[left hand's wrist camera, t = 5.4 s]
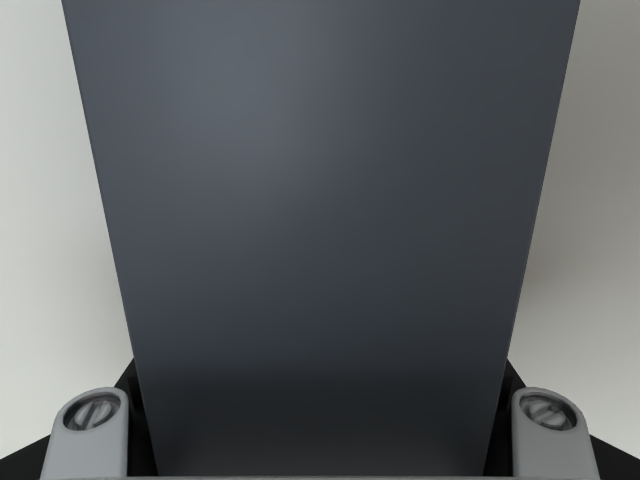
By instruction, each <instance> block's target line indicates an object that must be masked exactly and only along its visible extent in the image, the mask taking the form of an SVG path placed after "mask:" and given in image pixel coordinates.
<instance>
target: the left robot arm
mask: <svg viewBox="0 0 640 480" xmlns="http://www.w3.org/2000/svg"><path fill="white" fill-rule="evenodd" d="M0 480H640V459H638V458H636V457H634V456H632V455H630V454H628V453H626V452H624V451H622V450H620V449H618V448H616V447H614V446H612V445H610V444H608V443H606V442H604V441H602V440H600V439H598V438H596V437H594V436H592V435H590V434H589V432H588V428H587V424H586V420H585V418H584V416H583V414H582V412H581V411H580V410H579V408H578V407H577V406H576V405H575V404H574V403H572V402H571V401H570V400H568V399H567V398H565V397H563V396H561V395H560V394H558V393H556V392H553V391H550V390H547V389H543V388H537V387H526V386H525V384H524V383H523V381H522V380H521V378H520V377H519V375H518V374H517V372H516V371H515V369H514V368H513V366H512V365H511V363H510V362H509V361H508V359H507V361H506V366H505V370H504V375H503V380H502V385H501V390H500V395H499V400H498V405H497V410H496V414H495V419H494V424H493V429H492V434H491V439H490V444H489V449H488V453H487V458H486V463H485V468H484V473H483V477H471V476H169V477H158V473H157V468H156V464H155V459H154V454H153V449H152V444H151V439H150V434H149V429H148V424H147V419H146V414H145V409H144V404H143V400H142V395H141V390H140V385H139V380H138V375H137V370H136V365H135V360H134V358H133V359H132V361H131V362H130V364H129V365H128V367H127V368H126V370H125V371H124V373H123V374H122V376H121V377H120V379H119V380H118V382H117V383H116V384H115V386H114V387H103V388H97V389H93V390H90V391H87V392H84V393H82V394H80V395H79V396H77V397H75V398H73V399H72V400H70V401H69V402H68V403H66V404H65V405H64V406H63V407H62V408H61V410H60V411H59V412H58V414H57V416H56V418H55V420H54V424H53V428H52V432H51V434H50V435H48V436H46V437H44V438H42V439H40V440H38V441H36V442H34V443H32V444H30V445H28V446H26V447H24V448H22V449H20V450H18V451H16V452H14V453H12V454H10V455H8V456H6V457H4V458H2V459H0Z"/></svg>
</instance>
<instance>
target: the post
mask: <svg viewBox="0 0 640 480" xmlns="http://www.w3.org/2000/svg"><path fill="white" fill-rule="evenodd" d="M61 1H62V6H63V11H64V16H65V21H66V26H67V30H68V35H69V40H70V45H71V50H72V55H73V60H74V65H75V70H76V75H77V80H78V85H79V90H80V94H81V99H82V104H83V109H84V114H85V119H86V124H87V129H88V134H89V139H90V144H91V149H92V153H93V158H94V163H95V168H96V173H97V178H98V183H99V188H100V193H101V198H102V203H103V208H104V213H105V217H106V222H107V227H108V232H109V237H110V242H111V247H112V252H113V257H114V262H115V267H116V272H117V277H118V281H119V286H120V291H121V296H122V301H123V306H124V311H125V316H126V321H127V326H128V331H129V336H130V341H131V345H132V350H133V355H134V360H135V365H136V370H137V375H138V380H139V385H140V390H141V395H142V400H143V404H144V409H145V414H146V419H147V424H148V429H149V434H150V439H151V444H152V449H153V454H154V459H155V464H156V468H157V473H158V477H169V476H471V477H483V473H484V468H485V463H486V458H487V453H488V449H489V444H490V439H491V434H492V429H493V424H494V419H495V414H496V410H497V405H498V400H499V395H500V390H501V385H502V380H503V375H504V370H505V366H506V361H507V356H508V351H509V346H510V341H511V336H512V331H513V327H514V322H515V317H516V312H517V307H518V302H519V297H520V292H521V288H522V283H523V278H524V273H525V268H526V263H527V258H528V253H529V249H530V244H531V239H532V234H533V229H534V224H535V219H536V214H537V210H538V205H539V200H540V195H541V190H542V185H543V180H544V175H545V171H546V166H547V161H548V156H549V151H550V146H551V141H552V136H553V132H554V127H555V122H556V117H557V112H558V107H559V102H560V97H561V93H562V88H563V83H564V78H565V73H566V68H567V63H568V58H569V54H570V49H571V44H572V39H573V34H574V29H575V24H576V19H577V15H578V10H579V5H580V0H61Z"/></svg>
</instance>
